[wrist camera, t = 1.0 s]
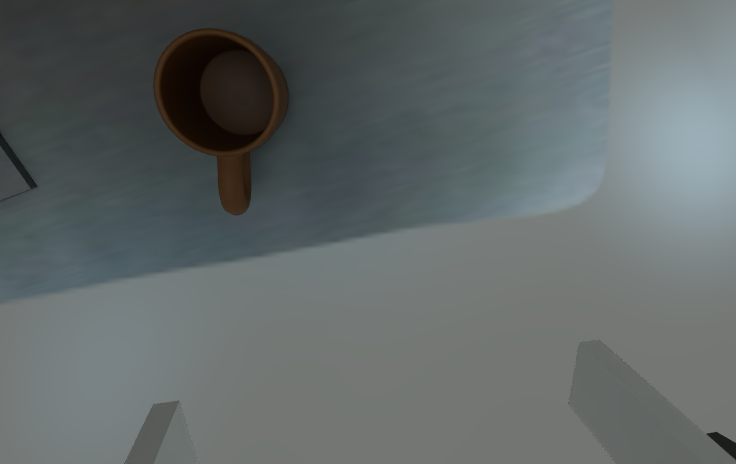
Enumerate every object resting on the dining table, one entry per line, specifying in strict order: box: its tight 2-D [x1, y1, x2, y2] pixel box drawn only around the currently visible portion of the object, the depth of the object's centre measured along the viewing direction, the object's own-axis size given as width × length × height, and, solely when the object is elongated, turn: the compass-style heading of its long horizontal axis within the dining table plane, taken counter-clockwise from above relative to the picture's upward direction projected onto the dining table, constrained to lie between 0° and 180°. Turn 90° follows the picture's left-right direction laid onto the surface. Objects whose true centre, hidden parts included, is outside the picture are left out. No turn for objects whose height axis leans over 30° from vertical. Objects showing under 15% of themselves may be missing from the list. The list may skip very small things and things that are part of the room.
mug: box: [153, 28, 288, 215], centre depth 29 cm, size 12×8×9 cm, turn 179°
